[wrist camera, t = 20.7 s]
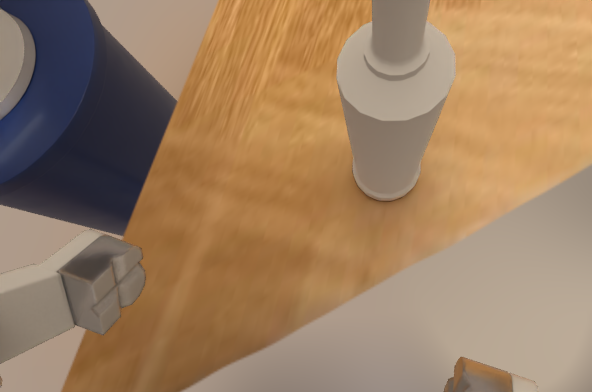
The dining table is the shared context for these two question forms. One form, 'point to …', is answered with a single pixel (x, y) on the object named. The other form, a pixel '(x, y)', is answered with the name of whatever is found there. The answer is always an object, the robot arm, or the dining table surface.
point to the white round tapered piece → (393, 94)
